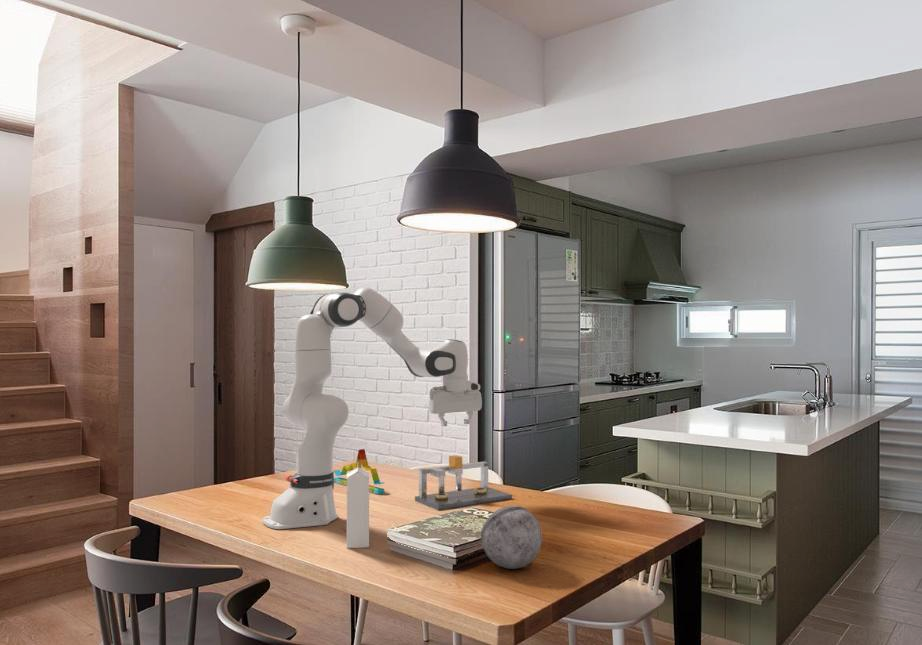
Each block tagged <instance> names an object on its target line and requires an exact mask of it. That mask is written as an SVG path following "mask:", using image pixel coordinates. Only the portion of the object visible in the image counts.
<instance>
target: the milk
mask: <svg viewBox="0 0 922 645" xmlns="http://www.w3.org/2000/svg"><path fill="white" fill-rule="evenodd" d="M346 479H347V486H346V549H360V548H362V549H363V548H369V547H370V492H369V485H370V474H369V472H368V471H367V470H365V469H363V468H361V469H360V468H359V467H357V468H355V469H354V470H351V471H348V472H347V473H346Z"/></svg>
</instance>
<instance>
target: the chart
mask: <svg viewBox="0 0 922 645" xmlns="http://www.w3.org/2000/svg"><path fill="white" fill-rule="evenodd" d="M367 458H368V457H367V454H366V450H365V448H360V449H358V453H357V456H356V462H355V463H354V462H353V463H350V464H346V465H345V464H344V465H343V467H342V469H341V470H340V469H335V470H332V472H334V474H335V476H336V477H334V484H338V485H342V486H345V487H347V478H344V477H340V476H345V475H346V476H347V473H348V472H351V471H352V470H354V469H355V468H357V467H359V468H360V469H363V470H364V471H370V474H371V478H372V481H373V485H370V484H369V494H374V495H377V496H378V495H382V494H385V488H383V487H378V486H374V485H382V484H385V482H384V481H383V482H381V480H380V477H379V474H378V469H377V468H376V467H375V468H372V467H371V466H370V465H369V463H368V459H367Z"/></svg>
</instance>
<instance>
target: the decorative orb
mask: <svg viewBox="0 0 922 645" xmlns="http://www.w3.org/2000/svg"><path fill="white" fill-rule="evenodd" d="M480 541H481V544H482V548H483V550H484V552H485V554H486V556H487V557H488V558H489V559H490V561H492V562H493V563H494V564H495V565H497V566H499V567H500V568H505V569H508V570H509V569H510V570H513V569H515V570H516V569H521V568H524V567H526V566H527V565H530V563H532V562H533V561H534V560H535V559H536V557H537V556H538V554H539V553H540V551H541V547H542V542H543V533H542V528H541V526H540V523H539V520H537V518H536V517H535V515H534V514H533V513H531V512H530V511H529V510H528V509H527V508H525V507H523V506H520V505H509V506H504V507H501V508H498V509H496V511H494V512H493V513H491V514H490V516H488V517H487V519H486V521H485V522H484V523H483V526H482V528H481V531H480Z"/></svg>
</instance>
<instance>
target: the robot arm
mask: <svg viewBox="0 0 922 645" xmlns="http://www.w3.org/2000/svg"><path fill="white" fill-rule="evenodd" d="M358 321H360V322H362V323H363V324H364V325H365V326H366V327H367V328H368V329H369V330H371V331H372V332H373V333H374V334H375V335H377V336H378V337H380V338H381V339H382V340H383V341H384V342H385V343H386V344H388V346H390V348H391V349H392V350H393V351H394V352H395V353H396V354H397V355H398V356H399V357H400V358H401V359H402V360H403V362H404V364H405V365H406V368H407V369H408V371H409V372H410V374H412V375H413V376H414V377H417V378H425V377H427V378H439V377H442V386H433V387H431V389H430V390H429V400H428V411H429V413H430V414H433V415H437V417H438V418H439V420H440V426H441V427H447V426H448V421H447V420H446V419H445V418H444V417H445V414H451V413H452V414H453V413H465V412H466V417H465V418H463V421H464V422H463V424H464V425H470V424H471V419H472V416H473V414H474V412H479V411H481V410H482V406H483V400H482V399H483V398H482V393H481V391H480V390H481V384H480V383H477V382H473V381H470V380H469V375H468V366H469V358H468V357H469V356H468V354H469V353H468V348H467V344H466V343H465V342H464V341H461V340H458V339H448V338H447V339H445V340H444V341H443V342H442V343H440V345H438V346H436V347H434V348H432V349H430V348H429V349H425V348H421V347H419V346H417V345H415V344H414V343H413V342H412V341H411V340H410V339H409V338H408V337H407V335H406V334H404V333H403V331H402V329H403V327H404V316H403V315H402V313H401V312H400V311H399V309H398V308H397V307H396V306H395V305H394V304H393V303H392V302H390V301H389V300H388V299H387V298H386V297H385V296H383V295H382V294H381V293H379V292H378V291H376V290H374V289H373V288H371V287H368V286H367V287H366V286H364V287H361V288H358V290H356V291H355V292H354V293H350V292H337V291H336V292H331V293H327V294H326V293H325V294H323V295H321V296H319V298H318V299H317V300H316V301H315V303H314V305H313V307H312V309H311V312H310V314H305V315H302V316H301V317H300V318H299V319H298V321H297V324H296V329H295V334H294V335H295V337H294V338H295V339H294V360H295V361H294V372H295V373H294V379H293V384H292V386H291V390H290V393H289V395H288V396H287V397H286V398H285V400H284V401H283V403H282V407H281V413H282V416H283V418H284V420H285V421H286V422H288V423H289V424H292V425H294V426H296V427H298V428H306V433H305V436H304V439H303V441H302V442H301V443H300V444H299V445H298V446H297V449H296V473H295V474H294V475H291V474H286V476H285V478H284V479H285V481H287V482H289V483H290V486H288V488H287V489H286V490H284V491H283V492H282V493H281V494H280V495H278V496H277V497H276V498H275V499H274V500H273V501H272V504H271V507H270V513H269V514H270V515H267V516H264V517H263V519H262V523H263V525H265V526H266V527H268V528H270V529H275V530H287V529H294V528H295V529H297V528H306V527H315V526H316V527H317V526H324V525H325V526H326V525H329V524H330V523H331V522H332V521H335V520H336V519H337V518H338V513H337V510H336V509H337V508H336V505H335V500H334V498H335V497H334V489H335V488H334V487H335V483H334V478H335V476H334V474H335V473H334V472H333V459H334V458H333V455H334V453H333V452H334V445H335V441H336V437H337V435H338V433H339V431H340V429H341V428H342V427H343V426H345V424H346V423H347V421H348V418H349V411H350V410H349V406H348V404H347V402H346V400H343V399H342V398H340V397H338V396H336V395H334V394H327V393H323V388H324V384H325V382H326V380H327V379H328V378H329V377H330V376H331V374H332V350H331V348H332V347H331V335H332V332H333V330H334V329H335V328H343V327H346V328H347V327H350V326H352V325H354V324H356V323H357V322H358Z"/></svg>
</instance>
